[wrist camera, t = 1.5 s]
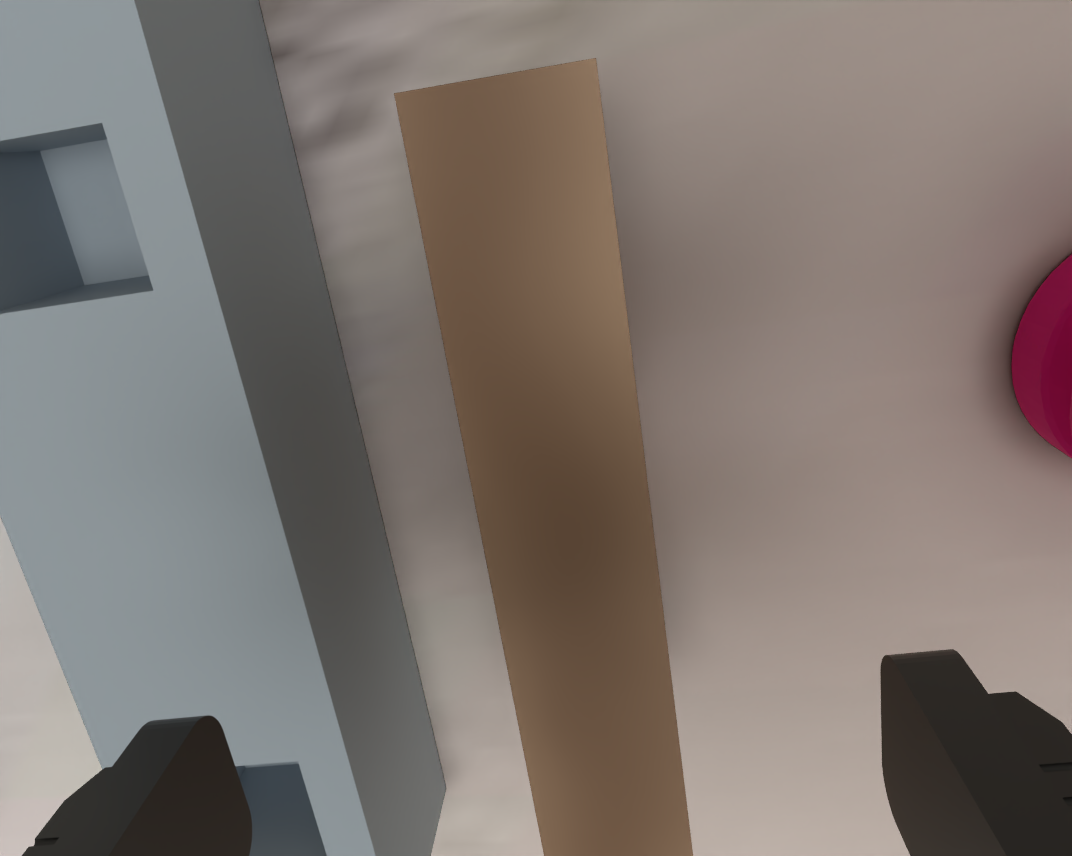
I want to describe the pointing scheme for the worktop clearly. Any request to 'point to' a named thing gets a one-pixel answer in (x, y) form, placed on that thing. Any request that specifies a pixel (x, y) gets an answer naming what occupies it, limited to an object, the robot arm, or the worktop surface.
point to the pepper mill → (1047, 359)
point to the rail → (553, 444)
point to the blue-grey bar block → (196, 423)
